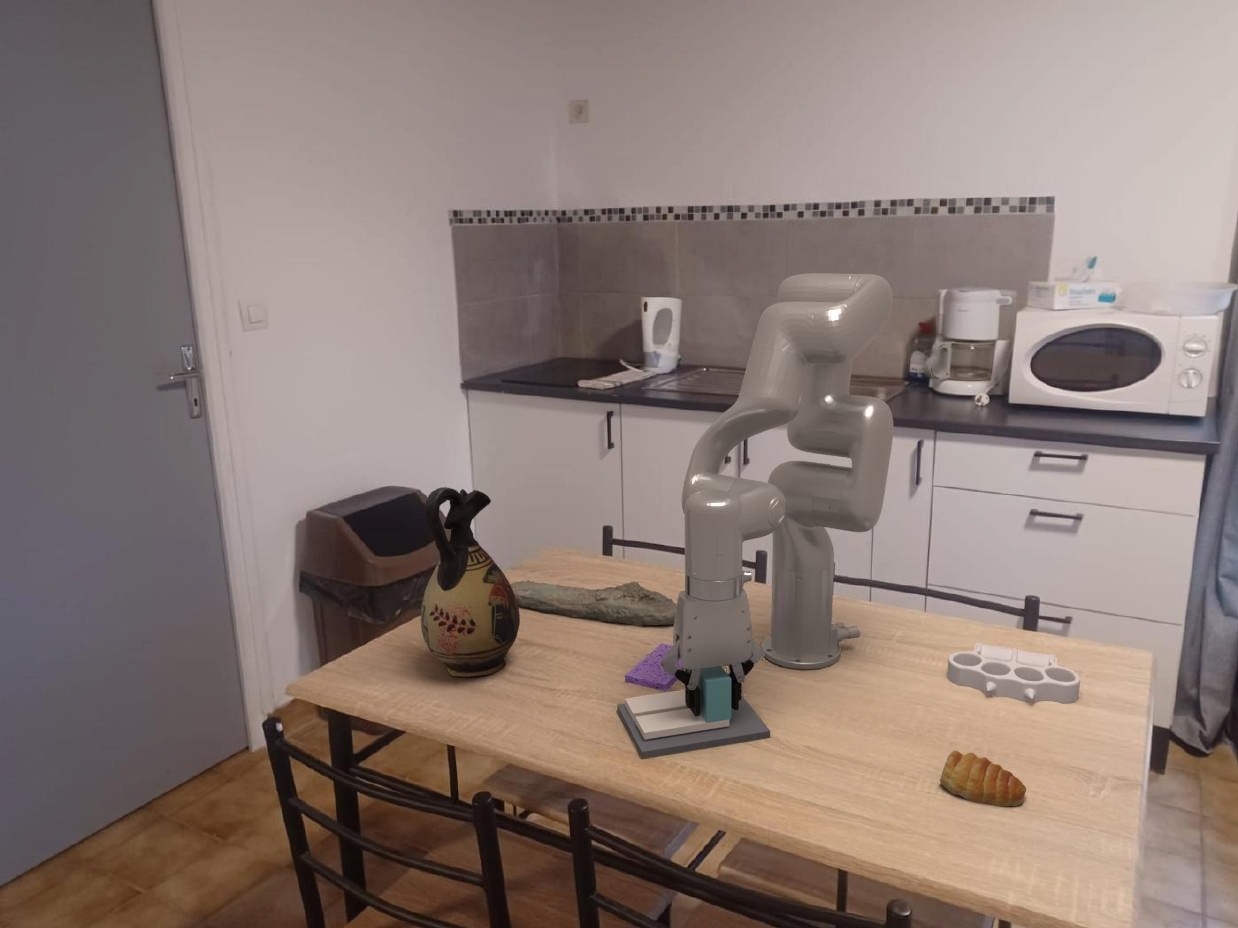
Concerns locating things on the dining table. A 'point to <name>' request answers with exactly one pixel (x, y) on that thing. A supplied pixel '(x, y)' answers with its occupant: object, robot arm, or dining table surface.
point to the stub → (712, 715)
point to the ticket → (655, 703)
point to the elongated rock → (598, 602)
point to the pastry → (981, 780)
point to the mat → (699, 733)
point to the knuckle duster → (1014, 674)
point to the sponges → (653, 670)
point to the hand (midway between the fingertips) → (713, 707)
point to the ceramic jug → (466, 592)
